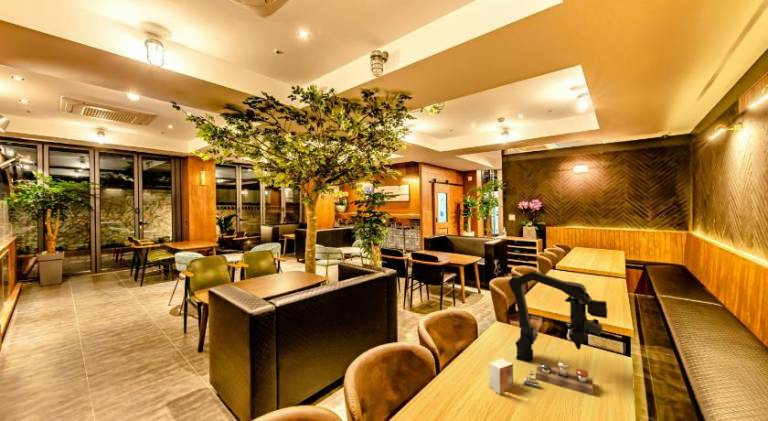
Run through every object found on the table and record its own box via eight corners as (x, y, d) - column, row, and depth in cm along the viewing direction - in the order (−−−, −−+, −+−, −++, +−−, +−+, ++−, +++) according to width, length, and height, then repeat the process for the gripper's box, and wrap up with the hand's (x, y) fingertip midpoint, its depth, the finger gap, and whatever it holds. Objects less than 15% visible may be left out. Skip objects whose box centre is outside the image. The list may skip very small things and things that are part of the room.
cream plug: (557, 377, 124) (557, 364, 123) (558, 373, 127) (558, 360, 127) (568, 380, 121) (568, 366, 121) (569, 376, 125) (569, 362, 124)
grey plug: (540, 378, 127) (540, 365, 127) (541, 374, 131) (541, 361, 130) (550, 381, 125) (550, 368, 125) (551, 377, 128) (551, 364, 128)
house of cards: (545, 384, 125) (545, 366, 125) (546, 395, 118) (546, 376, 117) (521, 378, 129) (521, 361, 129) (521, 389, 122) (521, 371, 121)
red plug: (576, 386, 120) (576, 372, 120) (576, 381, 123) (576, 367, 123) (588, 389, 118) (588, 375, 117) (588, 384, 121) (588, 370, 121)
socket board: (535, 382, 126) (535, 373, 126) (538, 372, 133) (538, 363, 133) (592, 399, 115) (592, 388, 115) (592, 387, 122) (592, 377, 122)
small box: (499, 395, 118) (499, 368, 118) (488, 387, 123) (488, 362, 123) (513, 389, 121) (513, 363, 121) (502, 382, 126) (502, 357, 126)
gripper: (601, 323, 117) (602, 363, 117) (600, 310, 132) (600, 345, 132) (568, 318, 123) (568, 355, 123) (570, 306, 139) (571, 339, 139)
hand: (578, 348), depth 129 cm, fingers closed
